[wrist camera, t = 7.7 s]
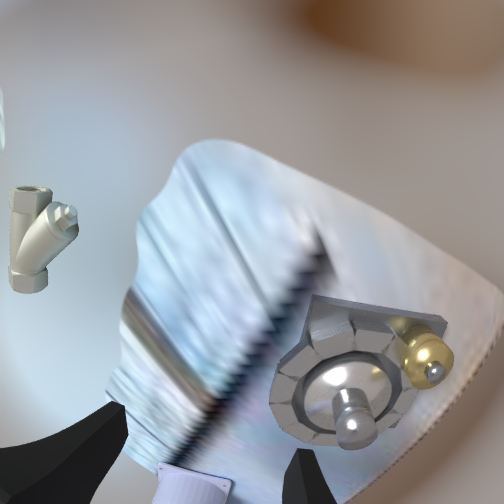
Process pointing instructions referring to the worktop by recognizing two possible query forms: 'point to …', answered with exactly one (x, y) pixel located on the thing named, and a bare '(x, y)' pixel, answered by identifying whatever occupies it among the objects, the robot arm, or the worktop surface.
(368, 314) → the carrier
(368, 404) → the silver stemmed round piece
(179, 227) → the worktop surface
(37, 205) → the pipe fitting
